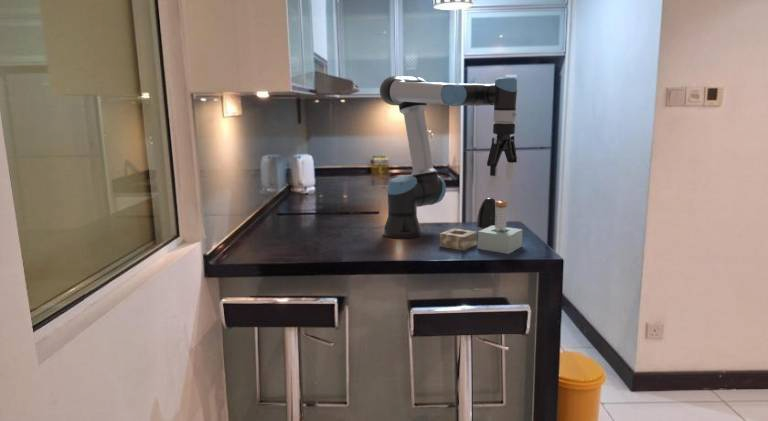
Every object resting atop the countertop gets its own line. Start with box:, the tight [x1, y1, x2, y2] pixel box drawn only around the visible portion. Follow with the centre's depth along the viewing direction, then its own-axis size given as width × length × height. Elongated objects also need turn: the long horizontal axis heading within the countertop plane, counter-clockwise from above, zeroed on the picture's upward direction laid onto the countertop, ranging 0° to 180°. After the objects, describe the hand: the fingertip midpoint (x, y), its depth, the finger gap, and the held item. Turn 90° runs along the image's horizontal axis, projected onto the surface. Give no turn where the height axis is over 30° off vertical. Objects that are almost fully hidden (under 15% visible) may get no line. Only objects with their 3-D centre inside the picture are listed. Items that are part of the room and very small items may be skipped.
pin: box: [495, 200, 508, 233], centre depth 189 cm, size 4×4×17 cm
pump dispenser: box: [475, 197, 504, 232], centre depth 209 cm, size 10×10×15 cm
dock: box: [477, 225, 524, 255], centre depth 190 cm, size 12×12×6 cm
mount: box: [439, 228, 478, 251], centre depth 194 cm, size 10×10×5 cm
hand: (501, 182), depth 186 cm, fingers open, 13 cm apart
